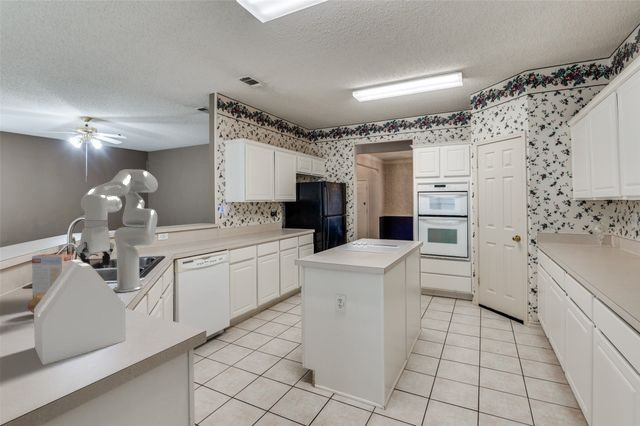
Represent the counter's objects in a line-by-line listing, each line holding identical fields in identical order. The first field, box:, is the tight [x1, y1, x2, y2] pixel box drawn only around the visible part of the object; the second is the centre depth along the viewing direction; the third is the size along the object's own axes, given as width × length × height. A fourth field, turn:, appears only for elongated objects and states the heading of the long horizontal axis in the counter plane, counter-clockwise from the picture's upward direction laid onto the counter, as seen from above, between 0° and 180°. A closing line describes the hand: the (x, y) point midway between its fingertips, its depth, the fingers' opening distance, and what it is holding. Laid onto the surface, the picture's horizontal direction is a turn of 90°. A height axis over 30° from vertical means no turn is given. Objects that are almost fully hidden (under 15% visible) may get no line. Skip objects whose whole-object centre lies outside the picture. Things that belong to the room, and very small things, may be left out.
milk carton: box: [33, 259, 127, 366], centre depth 92 cm, size 19×15×25 cm
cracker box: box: [31, 253, 74, 299], centre depth 132 cm, size 14×6×21 cm, turn 84°
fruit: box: [27, 294, 45, 314], centre depth 117 cm, size 8×8×8 cm
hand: (96, 266), depth 123 cm, fingers open, 9 cm apart
